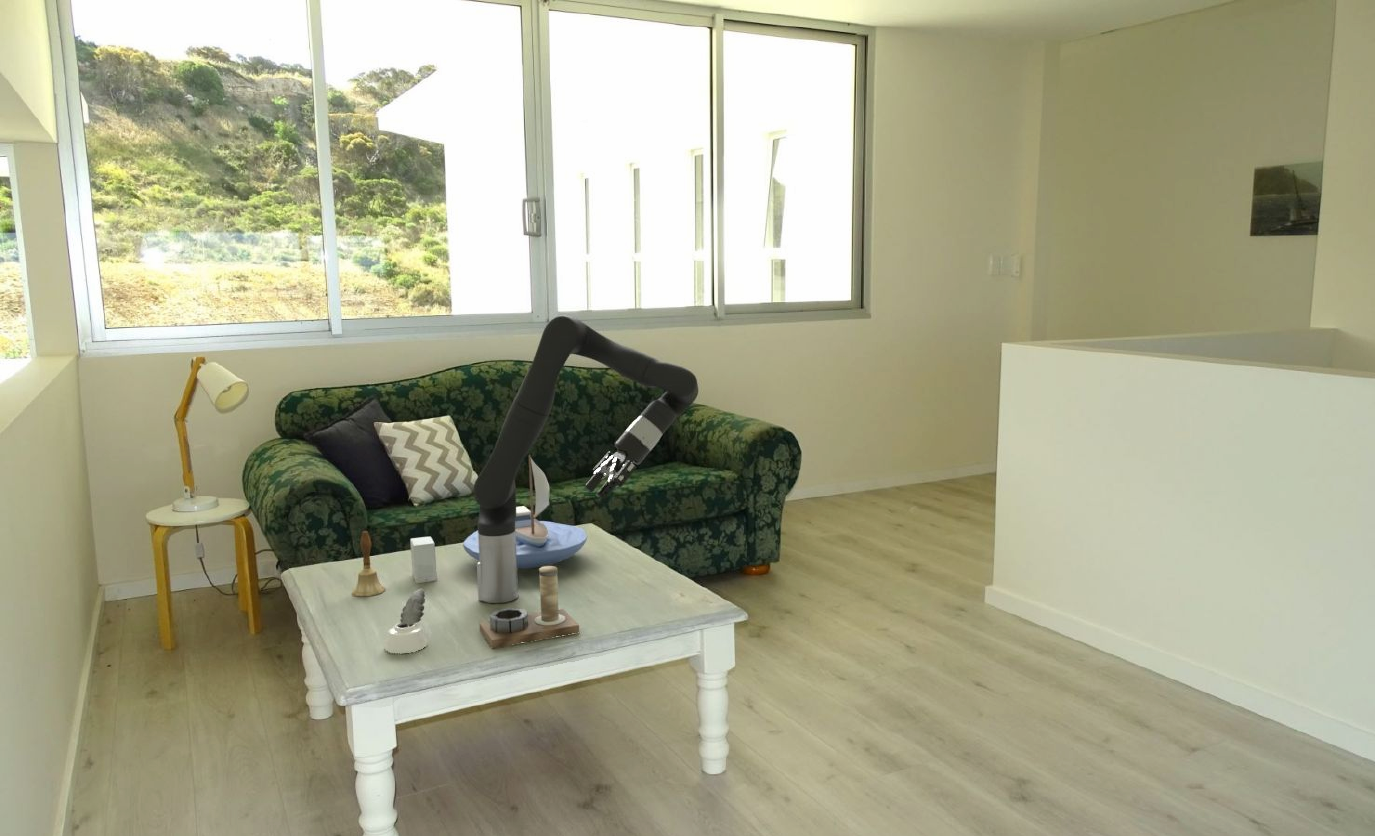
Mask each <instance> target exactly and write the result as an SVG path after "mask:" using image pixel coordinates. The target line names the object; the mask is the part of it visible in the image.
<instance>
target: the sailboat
mask: <svg viewBox="0 0 1375 836" xmlns="http://www.w3.org/2000/svg"><path fill="white" fill-rule="evenodd" d="M528 468H529V470H528V471H529V498H530V499H529V500H530V502H529V503H530V509H528V508H527V507H526V506H524V505H522V506H516V521H515V532H516V554H517V570H518V569H519V570H520V569H521V570H522V569H523V570H524V569H525V570H526V569H534V568H535V569H536V568H541V567H545V566H552V565H553V564H557V563H560V562H563V561H564V560H567V559H569V558H571V557H572V556H574V555H575V554H577V553H578V552H579V551H580V550H581V549H582V548H583V546H584V545H585V544H586V542H587V539H588V535H587V533H586V530H585V529H583V528H581V527H578V526H575V525H570V524H564V523H559V522H553V521H545V520H538V519H537V517H538V516H539V515H540V514H541V513H542V512H543V511H545V509H547V507H549V505H550V500H549V498H550V484H549V482H548V479H547V476H546V474H545V472H544V471H543V470H542V469H541V468H540V467H539V466H538V465H537V464H536V463H535V461H534V460H533V459H532V456H531V454H529V455H528ZM532 477H533V478H532ZM533 480H534V483H533ZM533 484H534V490H535V508H534V496H533ZM462 547H463V549H464V551H465V552H466V553H467V554H468V555H469V556H470V557H472V559H474V560H476V561H478V562H480V561H479V542H478V530H476V531H474V532H473V533H472V534H470V535H469V536H468V537H467V538H465V540H464V541H463V542H462Z"/></svg>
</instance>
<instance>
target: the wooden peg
mask: <svg viewBox="0 0 1375 836" xmlns="http://www.w3.org/2000/svg"><path fill="white" fill-rule="evenodd" d="M538 573H539V593H540V594H539V595H540V613H541V620H542V621H544V622H554V621H557V620H558V619H559V592H558V590H559V589H558V587H559V584H558V568H557V566H554V565H547V566H542V567H539V568H538Z"/></svg>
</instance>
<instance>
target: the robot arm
mask: <svg viewBox="0 0 1375 836" xmlns="http://www.w3.org/2000/svg"><path fill="white" fill-rule="evenodd" d="M570 355H577V356H580V357H583V358H587V359H590V360H592V361H593V360H594V361H596V362H598V363H600V364H603V365H604V366H606V367H607V368H610V369H611V370H613V371H614V372H616V373H617V374H619V375H620V376H623V377H624V378H627V379H629V380H631V381H632V382H635V383H636V384H639V385H642V386H644V387H646V388H649V389H650V388H651V389H654V388H657V389H660V390H663V391H665V392H664V393H663V394H662V395H661V397H659V398H658V399H654V400H652V401H651V402H650V403H649V404H648V405H647V406H646V407H645V409H644V410H643V411H642V412H641V413H640V414H639V416H638V417H637V418H636V419H635V420H633V421H632V422H631V424H630V425H628V427H627V428H626V430H624V432H623V433H622V434H621V435H620V437H619V438H618V439H617V440H616V441H615V443H614V448H615V449H616V452H614V453H613V452H612V451H610V450H608V452H607V453H606V454H605V455H604V456H603V457H602V458H601V460H600V461H599V462H598V463H597V464H596V465H595V466H594V468H593V469H592V470H593V475H592V476H591V478H590V479H589V480H588V481H587V482H586V484H584V488H585V489H587V490H588V491H589V492H591V493H592V492H594V490H596V488H597V487H598V486H599V485H600V483H601V482H602V480H604V479H605V478H607V477H608V479H607V480H606V482H604V484H603V485H602V486H601V487H600V489H599V490H598V491H597V493H596V494H597V496H598V497H599V498H601V499H602V500H605V499H607V497H608V496H609V495H610V494H611V493H612V492H613V490H614V489H615V488H616V489H617V488H618V487H619V488H621V487H622V486H624V485H625V483H626V482H627V480H628V479H629V478H630V477H631V476H632V474H633V473H634V472H635V470H637V466H636V465H640V464H641V463H642V462H643V461H644V460H645V458H646V457H647V456H648V454H649V453H650V452H651V451H652V450H653V448H654V447H655V446H656V445H657V443H659V441H660V439H661V437H662V436H663V435H664V434H665V432H666V431H667V430H668V429H669V428H670V427H671V425H672V424H673V423H674V421H676V420H677V418H679V417H680V416H681V415H682V414H683V413H684V412H685V411H687V410H688V408H690V407H691V405H692V404H694V402H695V401H696V400H697V397H698V395H699V383H698V379H697V377H696V375H695V374H694V373H693V372H692V371H690V370H689V369H687V368H685V367H683V366H681V365H677V364H673V363H669V362H664V361H661V360H659V359H656V358H654V357H652V356H650V355H649V354H646V353H643V352H641V351H639V350H637V349H634V348H631V347H629V346H627V345H623V344H621V343H620V342H616V341H614V340H612V339H611V338H608V337H606V336H605V335H602V334H601V333H599V332H598V331H596V330H594V329H593V328H591V327H590V326H589V325H587V324H586V323H585V322H583V321H581V320H580V319H579V318H578V317H575V316H569V315H556V316H554V317H552V318H551V319H550V320H549V321H548V322H547V323H546V325H545V327H544V329H543V332H542V334H541V337H540V340H539V343H538V346H537V349H536V351H535V354H534V357H533V360H532V362H531V365H530V366H529V369H528V371H527V372H526V374H525V377H524V378H523V381H522V383H521V385H520V387H519V389H518V391H517V393H516V394H515V396H514V399H513V401H512V403H511V406H510V407H509V409H508V411H507V414H506V417H505V418H504V422H503V423H502V427H501V429H500V432H499V435H498V437H497V440H496V444H495V446H494V449H493V450H492V453H491V455H490V457H489V459H488V460H487V462H486V463H485V465H484V467H483V469H482V470H481V472H480V473H479V475H478V477H477V478H476V479H475V481H474V483H473V488H472V489H473V490H472V491H473V497H474V499H475V502H477V504H478V506H479V513H478V520H477V531H478V542H479V561H478V562H477V563H476V577H477V596H478V598H477V599H478V601H482V602H484V603H489V604H503V603H509V602H512V601H514V600H516V599H518V597H519V581H518V580H519V579H518V578H519V577H518V569H517V554H516V532H515V521H516V507H517V490H516V489H517V488H516V483H515V482H516V481H515V479H516V475H517V473H518V472H519V471H518V470H519V468H520V466H521V463H522V462H523V460H524V459H525V457H526V456H527V454H528V453H529V451H530V450H531V449H532V447H533V445H534V444H535V443H536V441H537V439H538V437H539V436H540V434H541V432H542V431H543V428H544V426H545V424H546V422H547V420H548V418H549V415H550V414H551V410H552V408H553V405H554V401H555V400H554V399H555V397H556V396H555V394H556V387H557V383H558V379H559V377H560V373H561V372H562V369H563V368H564V366H565V365H566V364H565V363H566V362H567V360H568V359H569V357H570Z"/></svg>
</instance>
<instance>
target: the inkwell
mask: <svg viewBox="0 0 1375 836" xmlns="http://www.w3.org/2000/svg"><path fill="white" fill-rule="evenodd" d="M425 602H426V599H425V590H424V589H423V588H418V589H417V590H415V591H414V592H413V593H412V594H411V596H409V598H408V599H407V601H406V603H405V605H404V606H403V608H402V612H401V614H400V620H399V621H400V622H397V623H395V624H394V626H393V627H391V628H389V629H388V632H387V635H386V639H385V640H386V641H385V645H384V650H385V651H386V652H387V651H388V652H387V653H389V652H391V653H390V654H392V653H398V654H397V655H402V654H401V653H409V654H412V653H411V652H413V653H415V652H414V651H417V652H419V651H418V650H420V651H422V650H423V648H424V647H425V648H426V647H427V646H428V640H427V637H426V634H425V631H424V629H423V626H421V625H420V624H417V623H419V622H420V621H421V620H422V617H423V616H424V614H425V613H424V610H425V606H424V604H425ZM425 648H424V649H425ZM421 649H422V650H421ZM399 653H400V654H399Z"/></svg>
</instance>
